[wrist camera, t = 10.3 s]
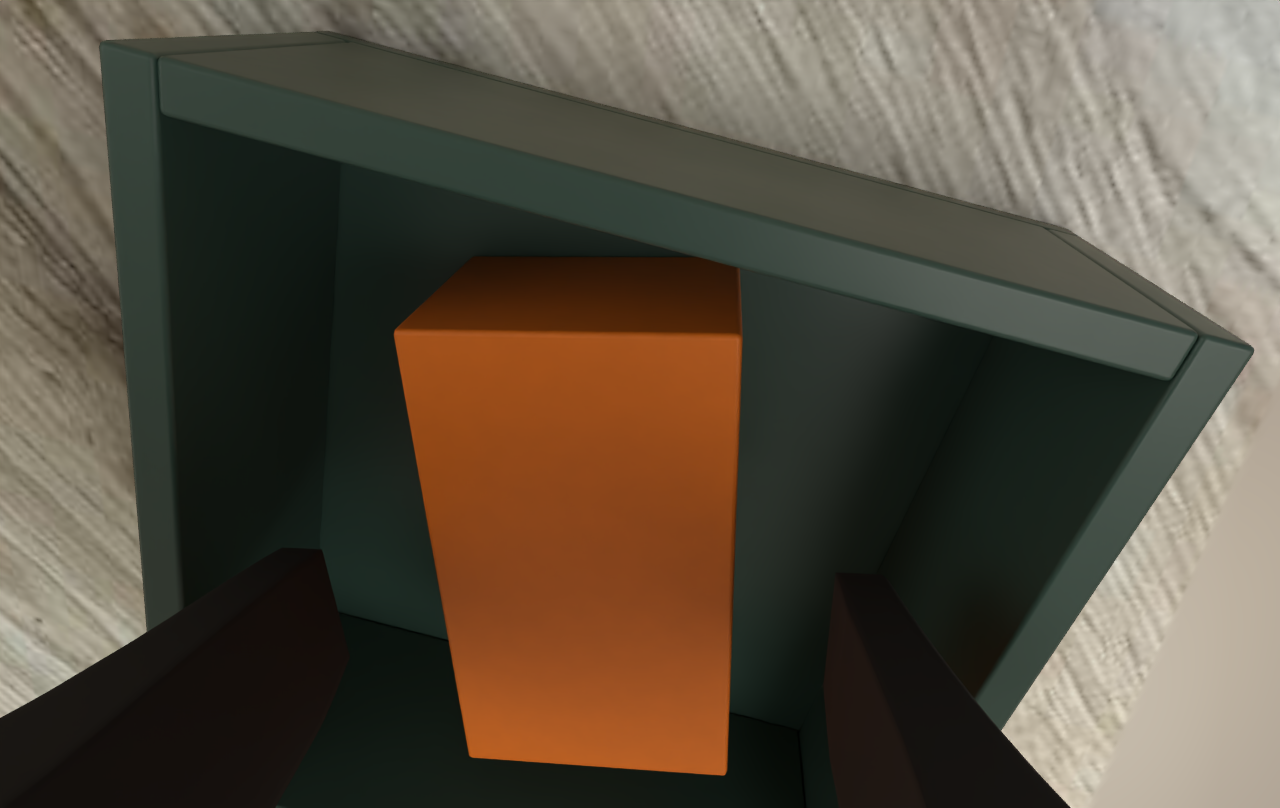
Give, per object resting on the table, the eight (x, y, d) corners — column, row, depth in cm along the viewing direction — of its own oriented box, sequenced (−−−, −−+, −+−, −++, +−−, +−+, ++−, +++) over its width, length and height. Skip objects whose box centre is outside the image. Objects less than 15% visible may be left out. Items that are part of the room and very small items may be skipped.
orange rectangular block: (739, 255, 13) (743, 334, 10) (727, 631, 16) (726, 778, 13) (471, 255, 13) (390, 330, 10) (516, 620, 17) (467, 758, 14)
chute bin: (1069, 228, 12) (1259, 348, 8) (813, 735, 18) (841, 972, 14) (326, 29, 12) (94, 37, 8) (301, 604, 18) (158, 800, 13)
